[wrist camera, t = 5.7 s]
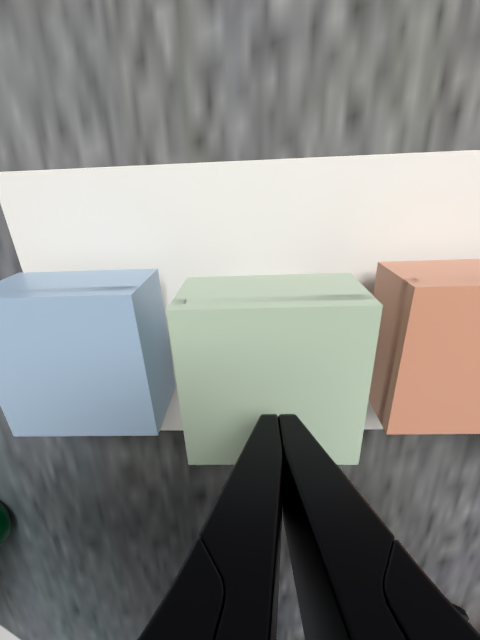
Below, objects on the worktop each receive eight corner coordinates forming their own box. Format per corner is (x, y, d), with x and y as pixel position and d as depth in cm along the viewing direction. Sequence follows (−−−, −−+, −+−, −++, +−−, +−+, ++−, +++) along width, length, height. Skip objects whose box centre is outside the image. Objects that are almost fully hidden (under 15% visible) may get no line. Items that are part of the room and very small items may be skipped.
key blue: (157, 268, 12) (131, 294, 9) (175, 387, 14) (157, 435, 11) (19, 272, 12) (-46, 299, 9) (57, 388, 14) (13, 436, 11)
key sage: (349, 272, 10) (382, 305, 8) (336, 404, 12) (358, 465, 10) (186, 277, 10) (165, 310, 8) (201, 405, 12) (188, 464, 10)
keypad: (741, 139, 11) (968, 121, 7) (594, 416, 16) (690, 483, 12) (6, 172, 12) (-93, 171, 9) (82, 420, 17) (39, 482, 14)
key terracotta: (532, 257, 11) (617, 281, 8) (489, 383, 13) (547, 433, 10) (377, 261, 11) (414, 287, 9) (360, 384, 13) (386, 434, 11)
